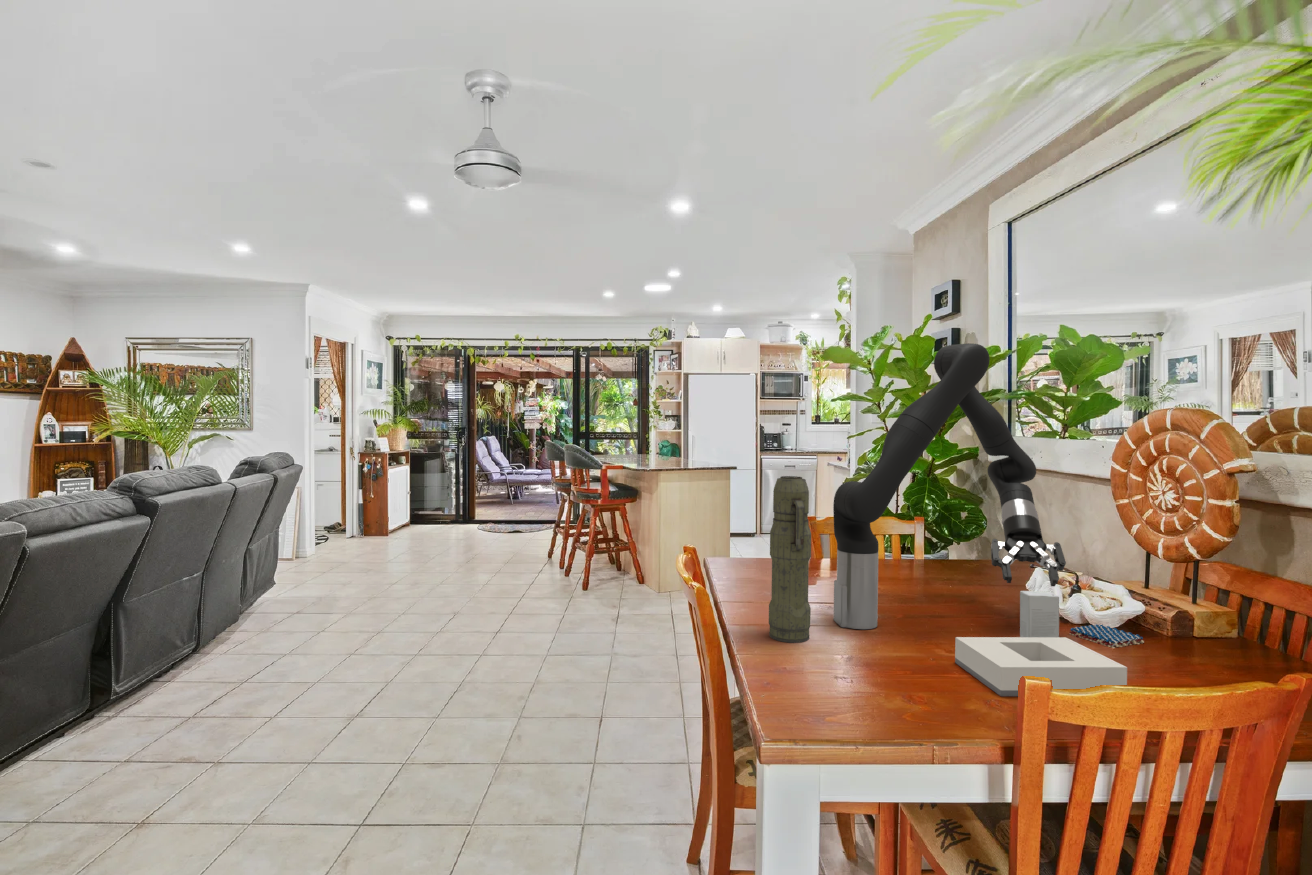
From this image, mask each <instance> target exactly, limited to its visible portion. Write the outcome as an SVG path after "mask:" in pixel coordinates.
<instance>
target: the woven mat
mask: <svg viewBox="0 0 1312 875" xmlns="http://www.w3.org/2000/svg"><path fill="white" fill-rule="evenodd" d="M1068 632H1069V635H1071V636H1074V637H1076V638H1080V639H1083V640H1085V641H1090V642H1092V643H1096V644H1098V645H1100V646H1101V645H1102V646H1105V647H1109V648H1111V649H1116V648H1119V647H1120V648H1123V647H1128V646H1132V645H1141V644H1144V643H1145V640H1144V637H1143V636H1140V634H1133V632H1126V631H1125V630H1124V629H1122V630H1119V629H1118V628H1116V627H1114V628H1112V627H1110V626H1109V625H1107V626H1105V625H1104V624H1102V625H1100V624H1097V623H1096V624H1090V625H1089V624H1088V625H1084V626H1083V625H1082V626H1080V627H1078V626H1075V627H1071V628H1070V631H1068Z"/></svg>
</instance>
